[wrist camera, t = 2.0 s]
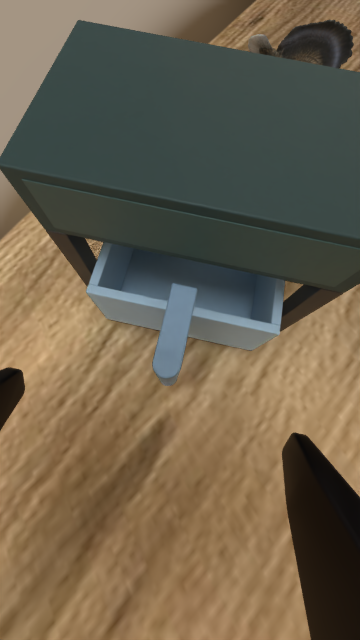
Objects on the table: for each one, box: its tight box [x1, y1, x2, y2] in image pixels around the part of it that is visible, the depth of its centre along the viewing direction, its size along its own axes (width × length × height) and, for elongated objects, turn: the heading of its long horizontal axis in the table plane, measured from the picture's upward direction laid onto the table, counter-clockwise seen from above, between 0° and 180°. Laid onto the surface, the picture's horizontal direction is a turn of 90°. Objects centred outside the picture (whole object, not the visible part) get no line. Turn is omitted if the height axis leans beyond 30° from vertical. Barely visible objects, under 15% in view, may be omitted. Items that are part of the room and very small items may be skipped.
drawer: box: [86, 242, 285, 386], centre depth 17 cm, size 14×12×10 cm
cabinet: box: [0, 20, 360, 331], centre depth 17 cm, size 10×16×12 cm, turn 78°
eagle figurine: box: [248, 20, 354, 68], centre depth 27 cm, size 8×7×9 cm
